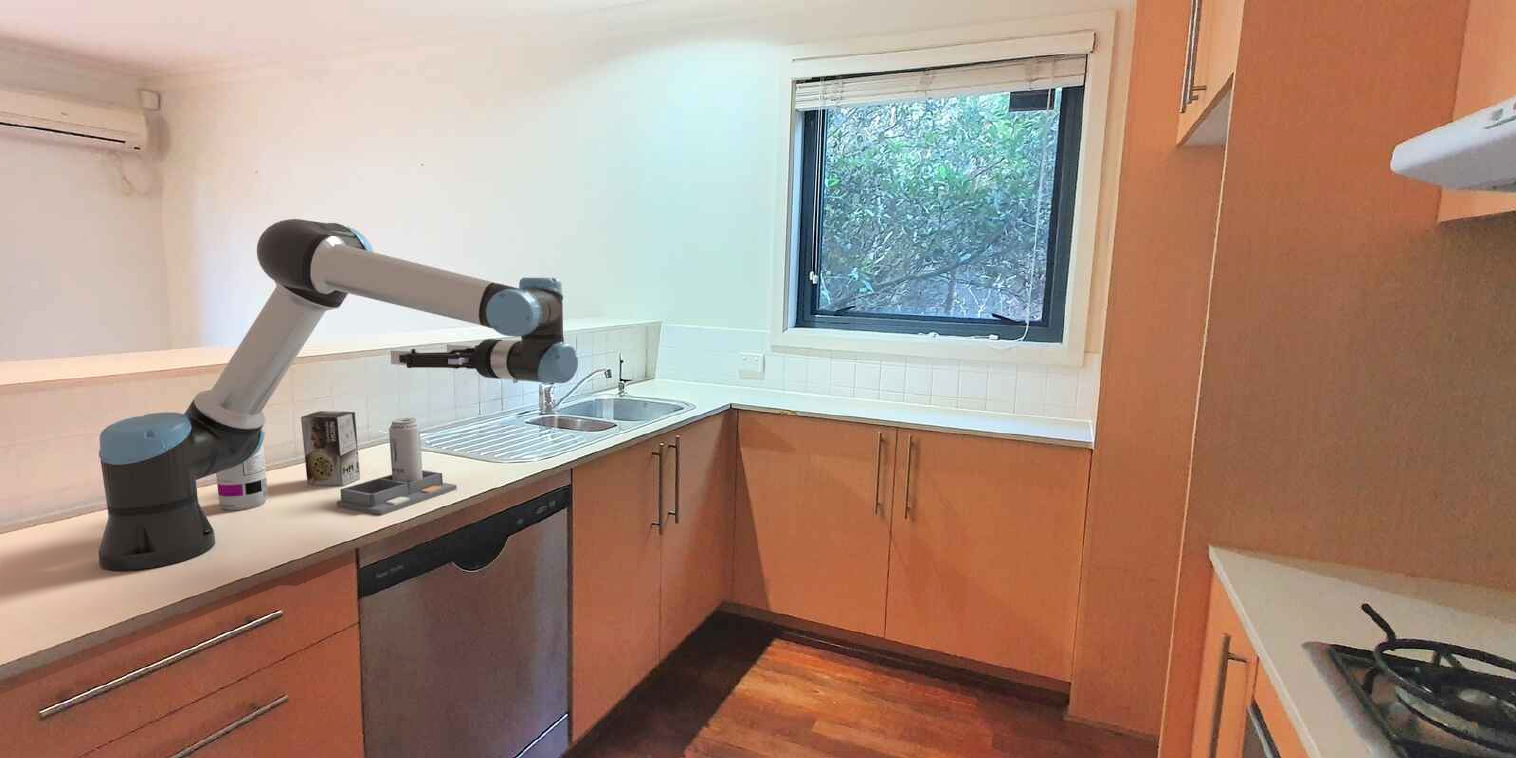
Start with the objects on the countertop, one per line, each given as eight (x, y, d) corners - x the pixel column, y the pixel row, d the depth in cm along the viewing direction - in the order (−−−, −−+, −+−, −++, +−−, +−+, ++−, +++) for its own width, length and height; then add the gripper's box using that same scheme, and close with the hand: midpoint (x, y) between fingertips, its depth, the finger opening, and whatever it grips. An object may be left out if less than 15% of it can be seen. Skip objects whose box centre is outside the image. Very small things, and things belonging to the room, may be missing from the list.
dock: (381, 515, 140) (380, 498, 140) (337, 506, 145) (335, 490, 145) (456, 489, 158) (455, 474, 157) (414, 482, 163) (413, 467, 162)
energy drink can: (388, 486, 156) (383, 420, 154) (415, 480, 160) (411, 416, 158) (400, 491, 152) (395, 424, 150) (427, 485, 157) (423, 420, 154)
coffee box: (361, 478, 165) (356, 411, 163) (342, 486, 159) (337, 416, 156) (325, 477, 166) (320, 410, 164) (305, 484, 160) (299, 415, 157)
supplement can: (220, 514, 140) (213, 441, 138) (218, 503, 146) (211, 433, 144) (270, 506, 145) (263, 435, 143) (266, 496, 151) (259, 428, 149)
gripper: (452, 387, 123) (367, 379, 131) (546, 371, 146) (469, 365, 154) (450, 345, 122) (364, 339, 130) (545, 335, 145) (468, 331, 153)
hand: (421, 353), depth 142 cm, fingers open, 13 cm apart
